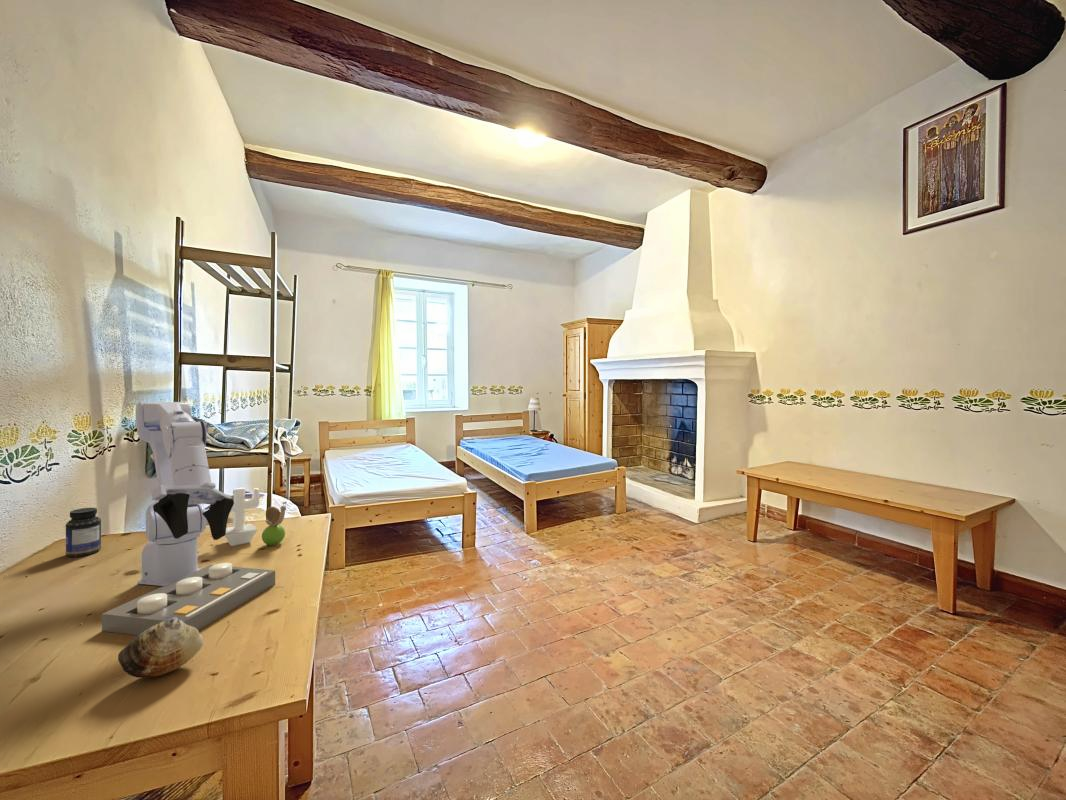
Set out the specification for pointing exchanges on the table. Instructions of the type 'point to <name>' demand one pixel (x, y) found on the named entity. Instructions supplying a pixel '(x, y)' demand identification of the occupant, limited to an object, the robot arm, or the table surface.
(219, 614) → the switch console
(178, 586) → the button middle
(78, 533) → the pill bottle
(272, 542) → the snail figurine
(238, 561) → the table surface
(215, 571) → the button
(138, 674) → the seashell
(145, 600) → the button
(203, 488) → the robot arm
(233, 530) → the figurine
